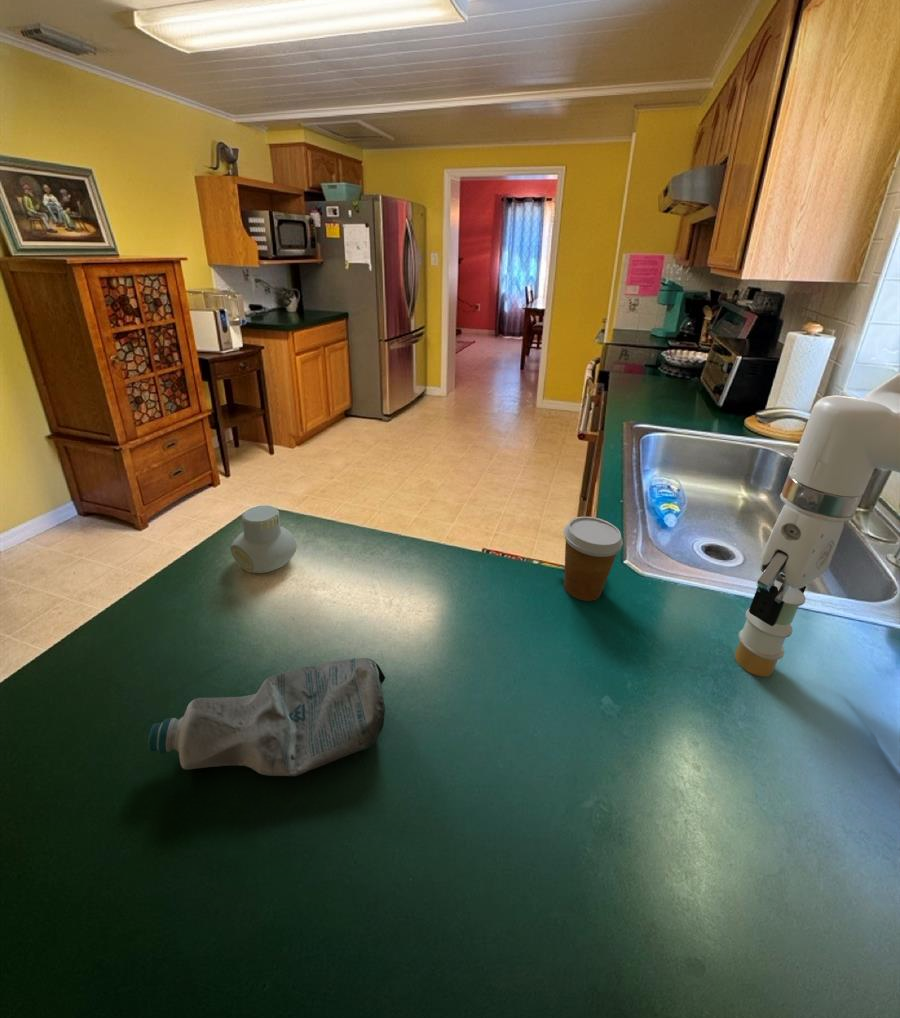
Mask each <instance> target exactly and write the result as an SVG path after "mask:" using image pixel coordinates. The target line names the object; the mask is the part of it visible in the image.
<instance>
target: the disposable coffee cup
mask: <svg viewBox="0 0 900 1018" xmlns="http://www.w3.org/2000/svg"><path fill="white" fill-rule="evenodd" d="M563 535H564V540H565V549H564V552H565V553H564V576H563V577H564V578H563V588H564V590H565V591H566V593H568V594H569V595H570V596H571V597H573V598H575V599H577V600H580V601H586V602H591V601H596V600H598V599H599V598H600V597H601V595H602V592H603V590H604V587H605V585H606V583H607V579H608V577H609V575H610V572H611V569H612V567H613V564H614V561H615V560H616V557H617V554H618V553H619V551H621V550H622V548H623V545H624V541H623V538H622V533H621V531H620V530H619V528H618V527H617V526H615V525H614V524H613V523H611V522H609V521H607V520H605V519H602V518H599V517H595V516H576V517H574V518H572V519H570V520H569V521H568V523H567V524H566V526H565V527H564V529H563Z"/></svg>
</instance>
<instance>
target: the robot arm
mask: <svg viewBox="0 0 900 1018" xmlns="http://www.w3.org/2000/svg"><path fill="white" fill-rule="evenodd" d="M805 425H806V426H805V427H804V430H803V432H802V435H801V437H800V438H801V439H800V441H799V444H798V446H797V449H796V451H795V454H794V457H793V459H792V460H793V461H792V462H791V465H790V467H789V471H788V474H787V475H786V479H785V481H784V485H783V487H782V490H781V493H780V494H779V499H780V500H781V501H782V502H783V503H784V505H783V507H782V508H781V511H780V513H779V515H778V516H777V519H776V521H775V523H774V526H773V528H772V530H771V533H770V534H769V537H768V539H767V542H766V544H765V546H764V549H763V551H762V555H761V558H760V561H759V565H758V566H759V569H760V571H761V572H762V573H761V575H760V577H758V579H759V580H758V579H757V580H758V587H757V586H756V590H755V593H754V596H753V598H752V601H751V603H750V606H749V608H750V609H749V608H748V609H749V612H750V613H751V614H752V615H754V616H755V617H757V618H759V619H760V620H762V621H763V622H765V623H767V624H768V625H770V626H774V625H775V624H776V622H777V619H778V617H779V615H780V612H781V610H782V607H783V605H784V601H782V599H783V597H784V595H785V593H786V592H787V590H788V588H789V586H792V588H794V589H799V590H800V591H801V592H802V593H803V594H804V595H805V592H806V589H807V585H809V584H810V583H812V582H813V581H815V580H816V579H818V578H819V577H820V576H822V575H823V574H824V573H826V571H827V570H828V569H829V567H830V565H831V561H832V560H833V557H834V554H835V551H836V549H837V546H838V543H839V541H840V539H841V535H842V533H843V530H844V527H845V524H846V522H850V521H851V520H853V518H854V516H855V514H856V511H857V509H858V506H859V504H860V502H861V499H862V498H863V496H864V494H865V492H866V489H867V487H868V484H869V483H870V480H871V478H872V477H873V476H872V475H873V473H874V472H875V469H883V470H888V471H892V472H895V473H900V372H898V373H896V374H895V375H893V376H891V378H888V379H887V380H885V381H884V382H883V383H881V384H879V385H878V386H876V387H875V388H874V389H872V390H871V391H869V392H867V394H866V395H864V396H862V397H861V398H858V397H853V396H846V395H828V396H827V395H826V396H823V397H821V398H819V399H818V400H817V401H816V402H815V403H814V405H813V407H812V409H811V411H810V414H809V416H808V418H807V422H806V424H805ZM775 580H777V581H779V582H781V583H782V585H781V587H780V589H779V591H778V588H777V587H776V586H774V582H775Z"/></svg>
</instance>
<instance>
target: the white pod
mask: <svg viewBox="0 0 900 1018" xmlns="http://www.w3.org/2000/svg"><path fill="white" fill-rule="evenodd" d="M749 609H750V607H749V608H748V609H746V611H745V614H744V616H745V619H746V621H745V623H744V626H743V629H742V630H743V631H742V634H741V636H742V639H743V641H744V642H745V643H746V644H747V645H748V646H749V647H750V648H752V649H753V650H755V651H757V652H759V653H762V654H765V655H771V656H773V655H777V654H779V652H780V650H781V648H782V647H783V645H784V644H785V641H786V639H787V638H789V637H790V636H791V635H792V634H793V626H792V625H791V624H789V625H778V624H775V625H774V626H770V625H768V624H767V623H765V622H763V621H762V620H760V619H759V618H757V617H755V616H754V615H752V614H751V613H750V612H749Z"/></svg>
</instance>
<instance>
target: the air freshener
mask: <svg viewBox="0 0 900 1018" xmlns="http://www.w3.org/2000/svg"><path fill="white" fill-rule="evenodd" d="M241 518H242V528H243V531H242V532H241V533H239V534H238V536H237V537H235V539H233V541H232V543H231V546H230V553H231V555H232V557H233V559H234V561H235V563H237V565H239V567H241V569H243V570H244V571H245V572H248V573H250V574H251V573H253V574H263V573H269V572H273V571H276V570H279V568H282V567H283V566H285V565H286V564H288V563H290V561H291V560H292V558H293V557H294V555H295V554H296V551H297V548H298V544H297V541H296V539H295V537H294V535H293V534H292V533H291V532H290V531H289V530H288V529H287V528H285V527H284V526H282V525H281V518H280V511H279V509H278V508H276V507H275V506H272V505H265V504H264V505H257V506H253V507H251V508H249V509H247V510H245V511H244V513H243V514H242V516H241Z"/></svg>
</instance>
